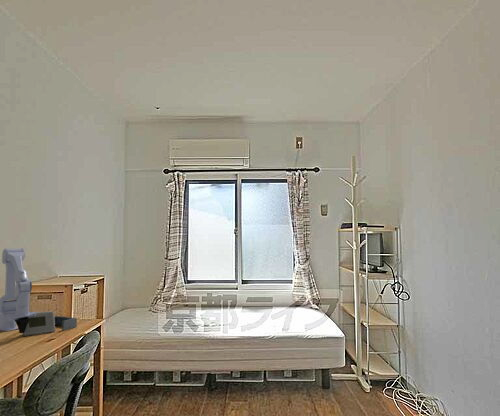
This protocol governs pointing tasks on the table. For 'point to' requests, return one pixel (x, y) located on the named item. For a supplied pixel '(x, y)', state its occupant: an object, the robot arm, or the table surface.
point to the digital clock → (40, 324)
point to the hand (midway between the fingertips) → (22, 332)
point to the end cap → (66, 322)
